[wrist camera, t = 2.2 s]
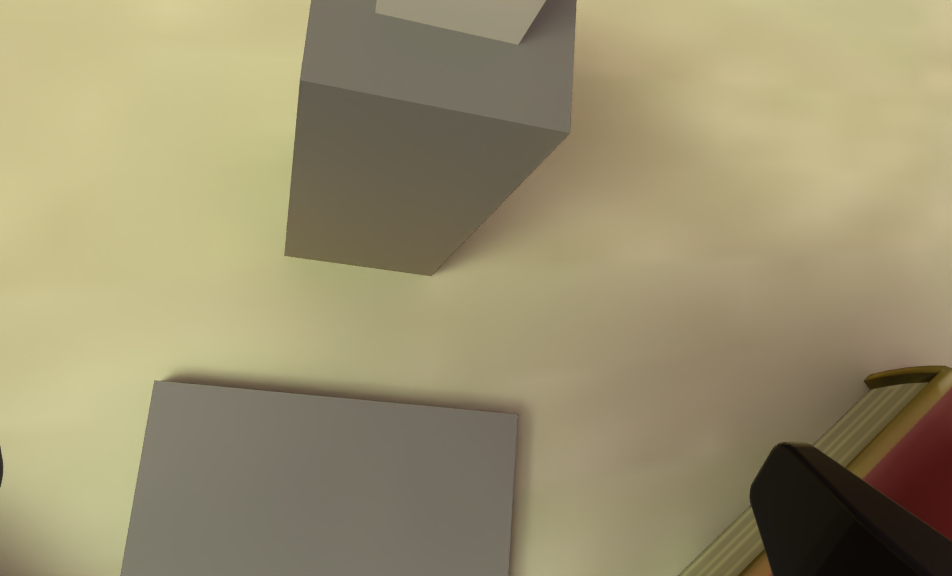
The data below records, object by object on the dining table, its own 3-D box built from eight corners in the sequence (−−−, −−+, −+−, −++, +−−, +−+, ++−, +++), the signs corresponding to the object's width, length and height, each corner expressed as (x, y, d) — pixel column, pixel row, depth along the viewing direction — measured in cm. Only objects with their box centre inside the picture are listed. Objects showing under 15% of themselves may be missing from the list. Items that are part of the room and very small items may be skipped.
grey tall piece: (441, 154, 23) (633, -162, 11) (431, 275, 23) (625, 75, 10) (301, 129, 22) (343, -251, 10) (284, 255, 21) (306, 5, 9)
